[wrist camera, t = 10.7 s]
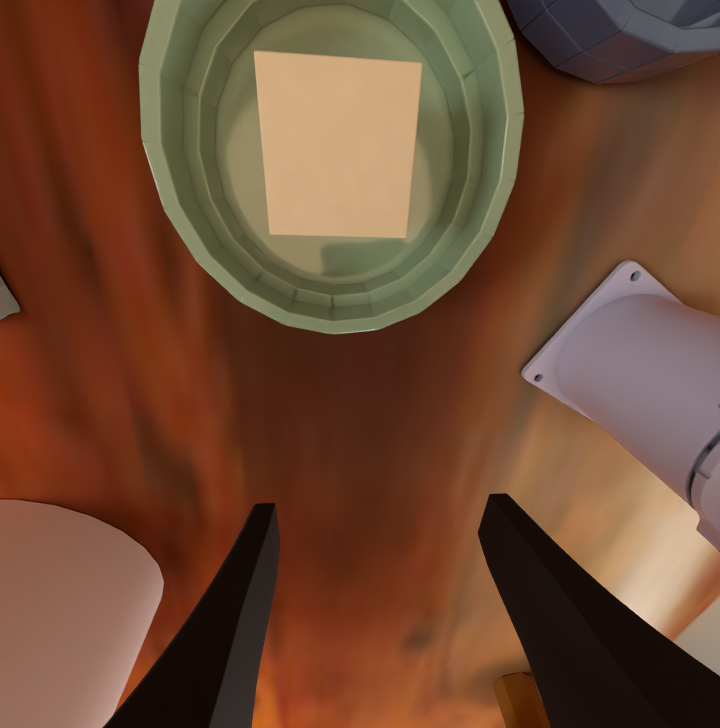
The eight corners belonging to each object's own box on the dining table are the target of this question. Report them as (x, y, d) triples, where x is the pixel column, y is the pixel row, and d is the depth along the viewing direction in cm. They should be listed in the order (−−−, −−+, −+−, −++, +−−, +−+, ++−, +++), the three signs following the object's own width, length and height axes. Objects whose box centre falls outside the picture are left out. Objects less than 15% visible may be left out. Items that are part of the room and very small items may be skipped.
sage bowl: (533, 116, 14) (601, 91, 11) (377, 343, 19) (388, 379, 15) (267, -143, 10) (235, -311, 7) (150, 218, 15) (94, 227, 11)
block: (392, 104, 13) (423, 61, 9) (384, 224, 15) (407, 238, 11) (279, 97, 13) (252, 49, 8) (287, 221, 15) (269, 234, 10)
